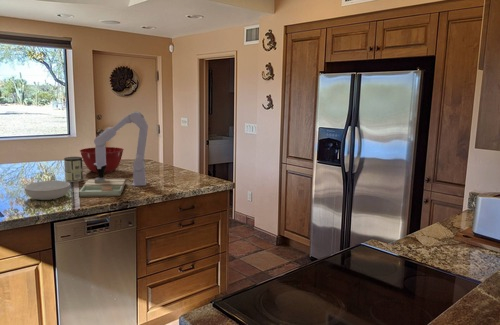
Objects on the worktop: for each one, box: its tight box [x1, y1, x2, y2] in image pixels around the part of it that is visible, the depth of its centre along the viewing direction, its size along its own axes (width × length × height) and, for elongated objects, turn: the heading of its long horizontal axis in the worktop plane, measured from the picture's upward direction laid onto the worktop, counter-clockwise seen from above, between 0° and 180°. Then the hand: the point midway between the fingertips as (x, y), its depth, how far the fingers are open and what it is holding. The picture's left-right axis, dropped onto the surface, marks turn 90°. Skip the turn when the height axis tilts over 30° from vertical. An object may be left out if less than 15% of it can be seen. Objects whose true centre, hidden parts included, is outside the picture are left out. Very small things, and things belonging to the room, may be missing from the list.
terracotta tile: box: [102, 187, 113, 191], centre depth 213 cm, size 5×5×2 cm
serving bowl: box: [23, 180, 71, 201], centre depth 199 cm, size 21×21×7 cm
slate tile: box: [94, 177, 106, 183], centre depth 225 cm, size 5×5×2 cm
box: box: [78, 186, 124, 198], centre depth 212 cm, size 13×21×3 cm, turn 103°
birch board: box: [82, 178, 126, 189], centre depth 226 cm, size 16×21×3 cm
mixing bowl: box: [79, 146, 125, 174], centre depth 267 cm, size 28×28×15 cm
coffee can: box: [63, 156, 84, 183], centre depth 239 cm, size 10×10×14 cm
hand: (101, 178), depth 231 cm, fingers closed
